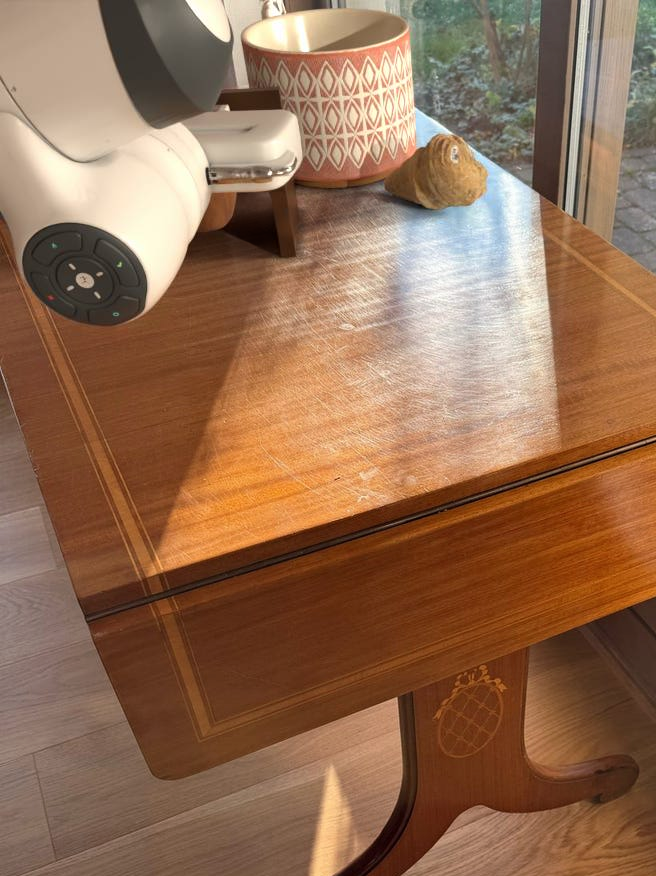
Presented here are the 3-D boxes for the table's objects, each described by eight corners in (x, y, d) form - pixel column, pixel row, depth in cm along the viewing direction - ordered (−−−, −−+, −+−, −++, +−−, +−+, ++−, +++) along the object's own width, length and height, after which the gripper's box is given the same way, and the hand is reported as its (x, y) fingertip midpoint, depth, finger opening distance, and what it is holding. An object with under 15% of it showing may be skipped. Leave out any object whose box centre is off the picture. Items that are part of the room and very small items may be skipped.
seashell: (400, 233, 118) (363, 222, 111) (392, 161, 116) (354, 145, 109) (503, 207, 111) (471, 193, 104) (495, 131, 110) (462, 111, 103)
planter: (321, 208, 113) (302, 63, 102) (234, 165, 123) (208, 30, 113) (449, 164, 121) (443, 27, 111) (358, 128, 132) (344, -1, 121)
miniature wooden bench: (142, 267, 103) (106, 134, 93) (157, 221, 111) (124, 95, 102) (296, 256, 104) (275, 123, 94) (298, 212, 112) (279, 86, 103)
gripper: (285, 128, 67) (306, 69, 76) (-16, 136, 67) (44, 76, 76) (298, 221, 71) (317, 154, 81) (17, 229, 71) (69, 161, 81)
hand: (182, 116), depth 79 cm, fingers closed on wooden figurine, 5 cm apart
